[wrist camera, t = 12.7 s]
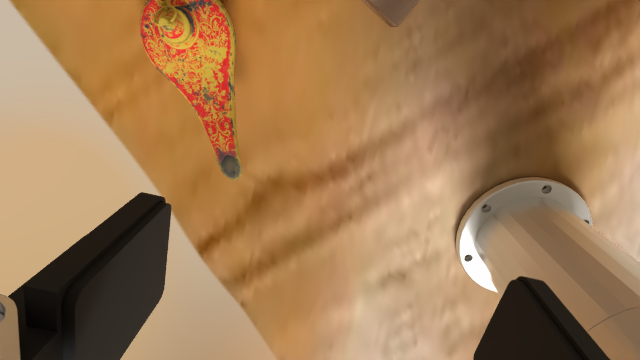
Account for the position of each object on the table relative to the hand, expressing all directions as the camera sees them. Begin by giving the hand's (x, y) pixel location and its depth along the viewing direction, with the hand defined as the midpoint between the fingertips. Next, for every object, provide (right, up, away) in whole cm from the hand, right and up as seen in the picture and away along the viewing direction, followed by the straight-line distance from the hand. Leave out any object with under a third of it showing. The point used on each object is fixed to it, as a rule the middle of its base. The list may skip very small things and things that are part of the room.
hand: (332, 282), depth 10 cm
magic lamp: (-9, +13, +22) cm, 27 cm away
